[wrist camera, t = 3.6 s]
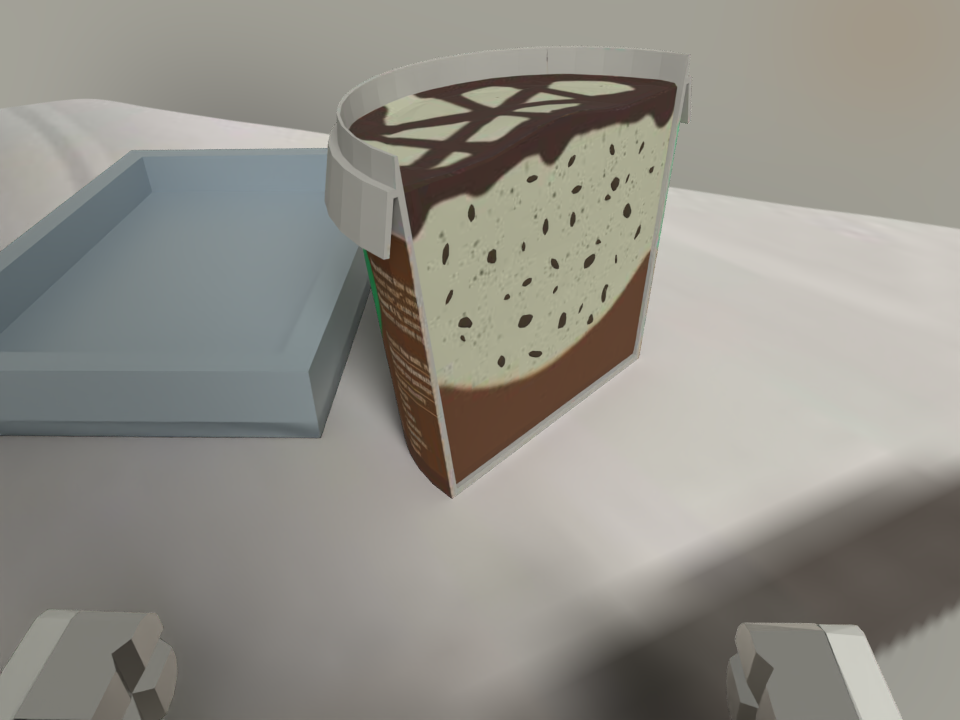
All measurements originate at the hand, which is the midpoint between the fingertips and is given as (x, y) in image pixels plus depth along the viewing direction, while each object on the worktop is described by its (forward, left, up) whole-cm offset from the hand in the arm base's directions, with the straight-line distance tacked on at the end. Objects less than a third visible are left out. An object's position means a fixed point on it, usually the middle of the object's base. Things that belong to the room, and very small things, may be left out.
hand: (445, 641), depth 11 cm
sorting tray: (-12, +21, -6) cm, 25 cm away
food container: (0, +14, -6) cm, 15 cm away
